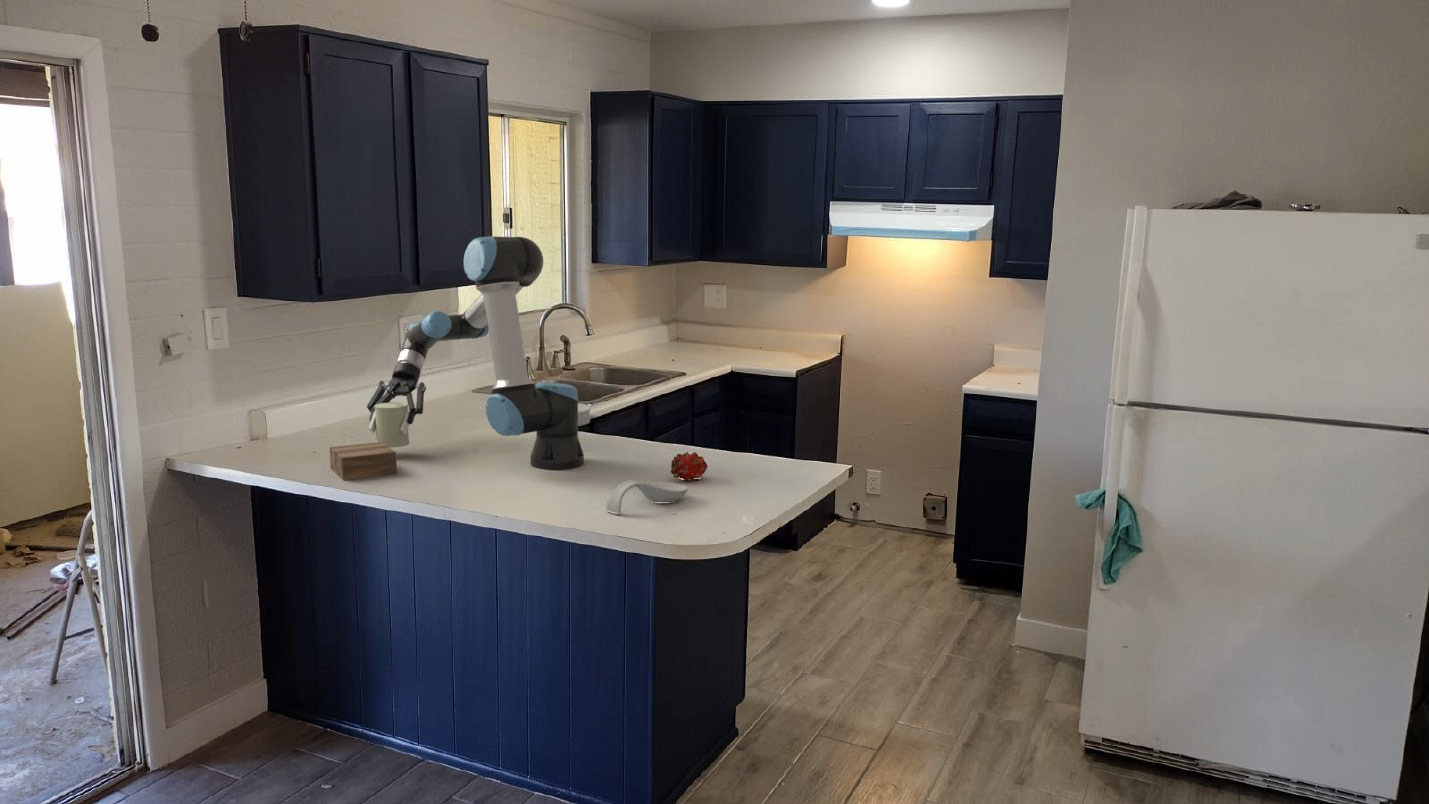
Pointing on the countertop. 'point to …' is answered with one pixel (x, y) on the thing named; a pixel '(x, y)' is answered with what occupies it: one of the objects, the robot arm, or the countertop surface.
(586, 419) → the dish
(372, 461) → the walnut block
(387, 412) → the can
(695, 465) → the red bumpy oval piece
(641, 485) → the spoon rest
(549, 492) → the countertop surface
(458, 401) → the countertop surface
